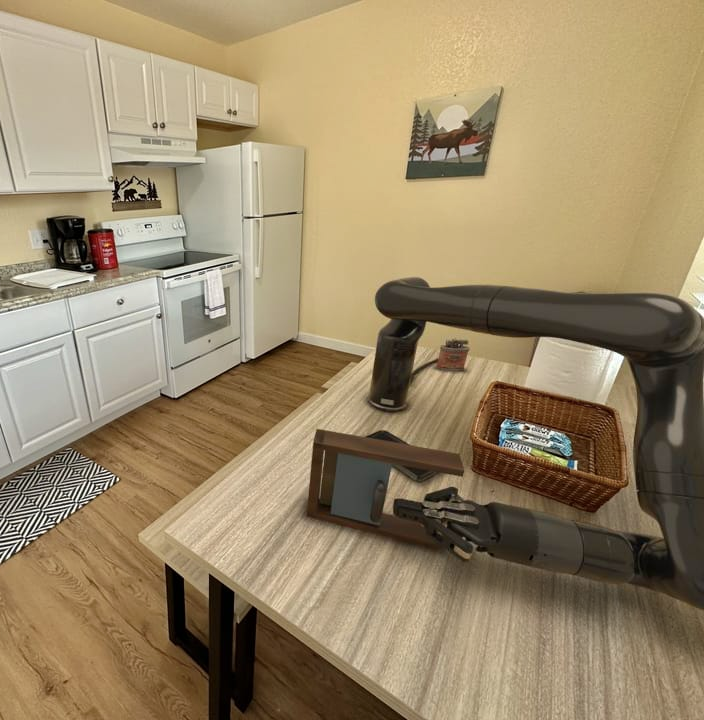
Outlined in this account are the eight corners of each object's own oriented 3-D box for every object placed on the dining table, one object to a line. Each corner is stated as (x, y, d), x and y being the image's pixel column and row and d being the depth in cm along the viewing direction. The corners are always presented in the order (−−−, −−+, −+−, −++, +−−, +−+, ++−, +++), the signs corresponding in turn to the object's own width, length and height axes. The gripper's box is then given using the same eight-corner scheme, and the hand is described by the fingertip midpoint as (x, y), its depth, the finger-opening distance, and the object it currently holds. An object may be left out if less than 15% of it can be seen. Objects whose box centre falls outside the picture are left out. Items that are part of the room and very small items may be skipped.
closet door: (331, 509, 67) (338, 449, 62) (380, 521, 64) (392, 459, 59) (328, 526, 64) (336, 463, 58) (380, 539, 61) (393, 475, 56)
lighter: (437, 370, 119) (444, 340, 115) (434, 366, 122) (440, 336, 118) (465, 372, 118) (473, 341, 114) (461, 367, 121) (468, 337, 117)
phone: (383, 428, 89) (444, 465, 77) (382, 432, 90) (443, 469, 78) (359, 439, 86) (419, 478, 74) (358, 443, 86) (418, 483, 74)
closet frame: (309, 500, 71) (316, 428, 64) (437, 531, 64) (459, 453, 58) (306, 516, 67) (313, 442, 61) (441, 550, 61) (464, 470, 54)
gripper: (521, 484, 57) (395, 460, 63) (556, 557, 46) (399, 520, 52) (507, 521, 60) (388, 495, 66) (537, 598, 49) (391, 559, 55)
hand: (393, 506), depth 59 cm, fingers closed
